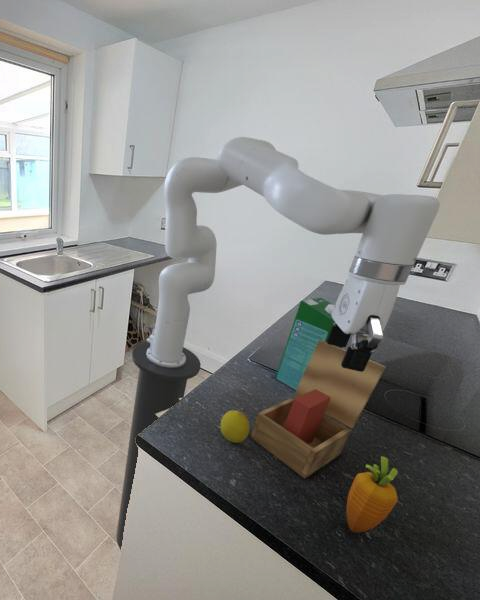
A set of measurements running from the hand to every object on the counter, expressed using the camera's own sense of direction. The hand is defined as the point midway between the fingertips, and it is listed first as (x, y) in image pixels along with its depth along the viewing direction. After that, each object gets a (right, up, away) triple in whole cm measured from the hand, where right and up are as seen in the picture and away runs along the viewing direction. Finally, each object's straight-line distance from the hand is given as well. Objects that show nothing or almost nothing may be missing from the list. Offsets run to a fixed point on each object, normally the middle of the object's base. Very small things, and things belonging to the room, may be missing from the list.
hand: (343, 356), depth 60 cm
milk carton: (+14, -14, +31) cm, 37 cm away
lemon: (-17, -21, +9) cm, 28 cm away
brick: (-3, -21, +8) cm, 23 cm away
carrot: (-5, -28, -8) cm, 29 cm away
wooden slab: (+4, -7, +7) cm, 11 cm away
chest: (-3, -21, +9) cm, 23 cm away
